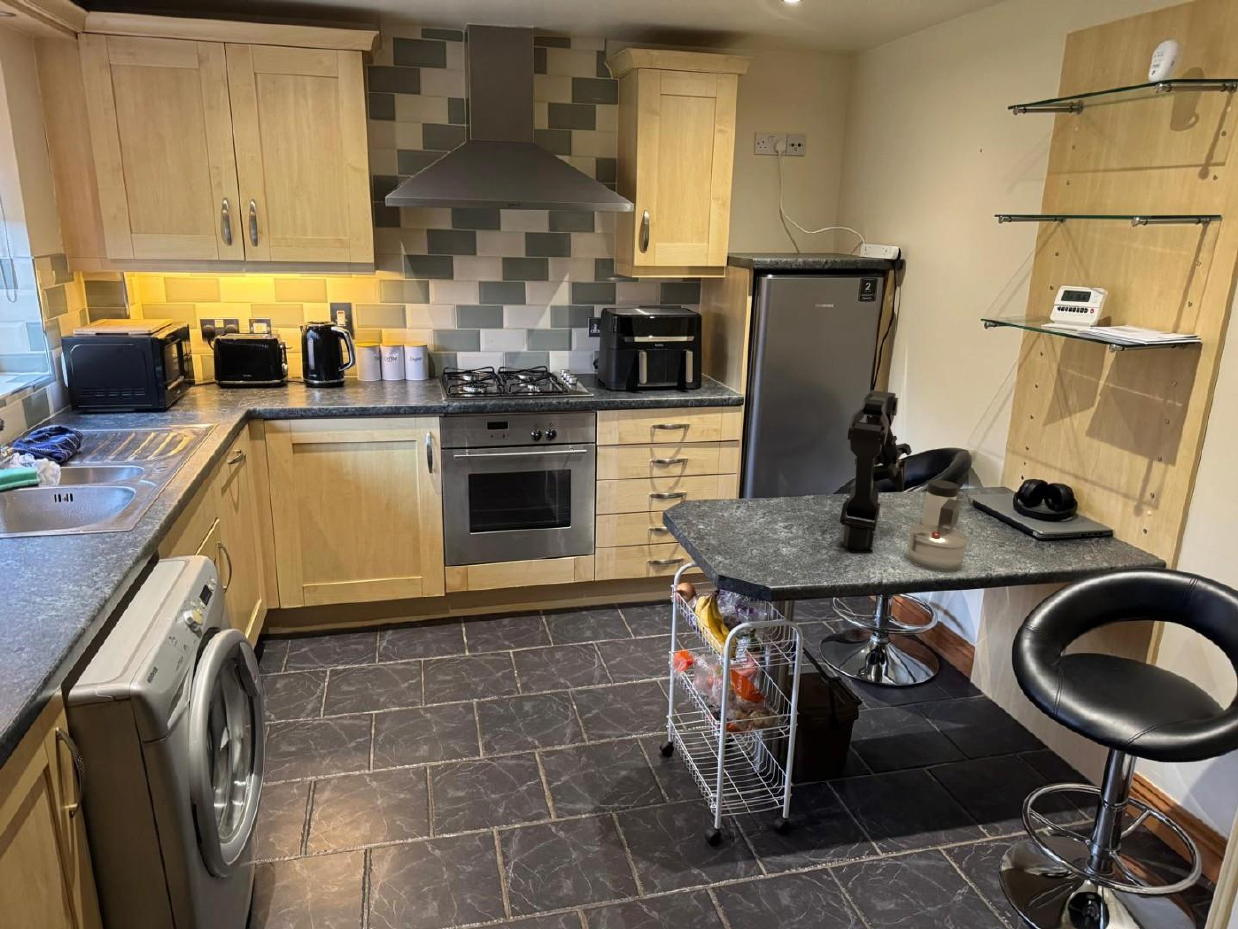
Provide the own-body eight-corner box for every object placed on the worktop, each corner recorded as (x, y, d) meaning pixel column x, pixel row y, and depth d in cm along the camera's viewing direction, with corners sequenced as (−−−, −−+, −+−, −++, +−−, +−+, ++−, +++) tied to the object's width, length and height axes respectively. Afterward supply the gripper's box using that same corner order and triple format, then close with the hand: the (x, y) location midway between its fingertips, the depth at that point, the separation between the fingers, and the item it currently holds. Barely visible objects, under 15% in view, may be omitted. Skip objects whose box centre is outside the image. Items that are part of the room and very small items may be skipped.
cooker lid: (961, 552, 199) (965, 527, 197) (903, 538, 205) (907, 515, 204) (978, 528, 216) (982, 505, 215) (924, 516, 223) (928, 494, 221)
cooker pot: (956, 576, 201) (960, 552, 199) (901, 562, 207) (905, 539, 205) (970, 552, 217) (975, 530, 215) (919, 540, 223) (922, 519, 221)
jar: (944, 519, 241) (951, 480, 238) (958, 530, 233) (965, 488, 230) (915, 519, 240) (921, 479, 237) (927, 529, 232) (934, 488, 229)
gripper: (863, 432, 231) (881, 483, 234) (842, 457, 216) (862, 511, 219) (902, 422, 224) (921, 475, 227) (883, 447, 210) (903, 503, 212)
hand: (901, 491), depth 222 cm, fingers closed
